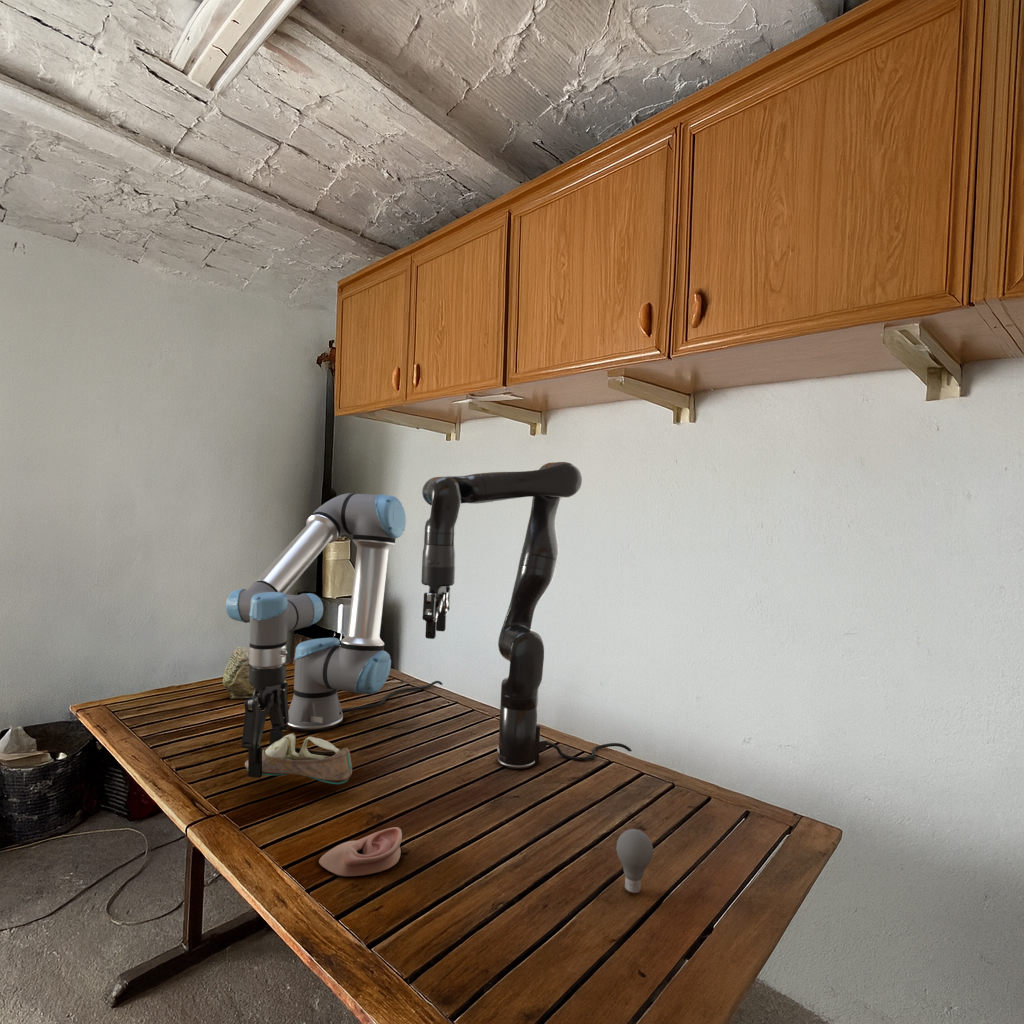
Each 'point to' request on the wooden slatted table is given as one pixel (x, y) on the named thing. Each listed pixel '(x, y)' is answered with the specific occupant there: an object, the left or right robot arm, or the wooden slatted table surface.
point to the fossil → (238, 674)
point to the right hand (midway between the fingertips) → (435, 634)
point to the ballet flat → (306, 760)
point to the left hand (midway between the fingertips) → (265, 767)
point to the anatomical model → (365, 854)
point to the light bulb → (634, 857)
